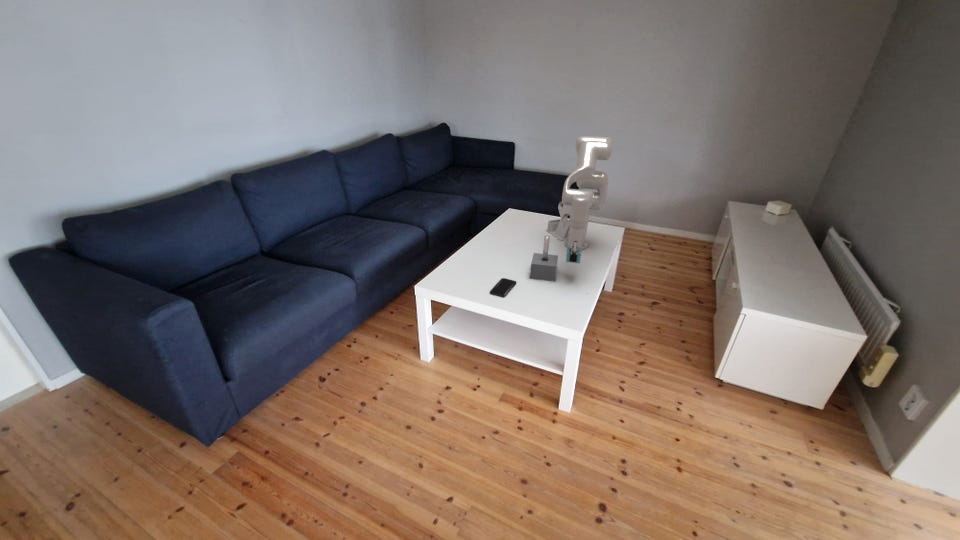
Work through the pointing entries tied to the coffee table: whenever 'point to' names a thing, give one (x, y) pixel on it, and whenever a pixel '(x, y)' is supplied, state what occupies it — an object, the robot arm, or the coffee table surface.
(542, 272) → the bearing block
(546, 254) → the shaft
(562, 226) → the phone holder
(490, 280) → the coffee table surface
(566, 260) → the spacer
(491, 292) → the phone
